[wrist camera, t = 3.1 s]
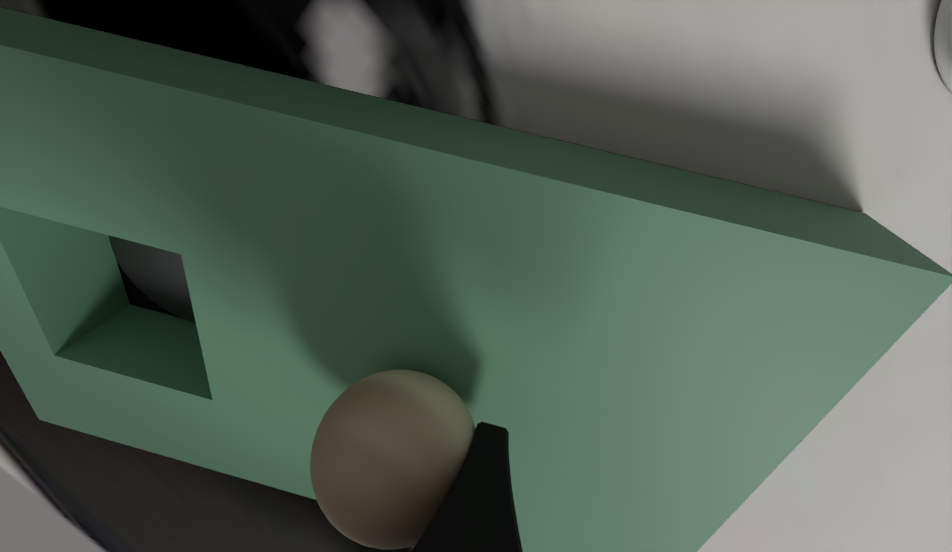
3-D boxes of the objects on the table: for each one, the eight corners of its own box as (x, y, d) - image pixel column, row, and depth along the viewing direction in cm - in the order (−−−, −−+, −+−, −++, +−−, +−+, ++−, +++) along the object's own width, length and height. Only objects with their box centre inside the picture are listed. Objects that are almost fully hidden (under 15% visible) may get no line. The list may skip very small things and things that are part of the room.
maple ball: (485, 479, 13) (413, 622, 10) (372, 417, 14) (273, 526, 11) (519, 381, 11) (442, 518, 8) (384, 317, 12) (265, 413, 9)
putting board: (864, 213, 11) (957, 277, 8) (641, 516, 18) (653, 597, 16) (-35, -1, 12) (-197, -3, 9) (107, 365, 19) (38, 419, 17)
